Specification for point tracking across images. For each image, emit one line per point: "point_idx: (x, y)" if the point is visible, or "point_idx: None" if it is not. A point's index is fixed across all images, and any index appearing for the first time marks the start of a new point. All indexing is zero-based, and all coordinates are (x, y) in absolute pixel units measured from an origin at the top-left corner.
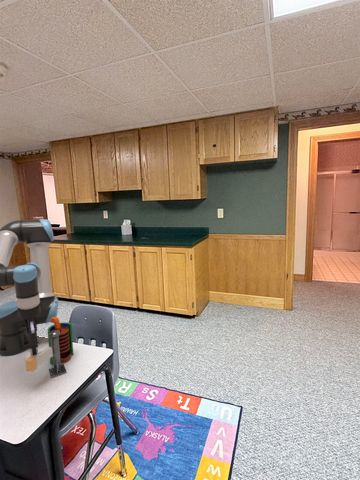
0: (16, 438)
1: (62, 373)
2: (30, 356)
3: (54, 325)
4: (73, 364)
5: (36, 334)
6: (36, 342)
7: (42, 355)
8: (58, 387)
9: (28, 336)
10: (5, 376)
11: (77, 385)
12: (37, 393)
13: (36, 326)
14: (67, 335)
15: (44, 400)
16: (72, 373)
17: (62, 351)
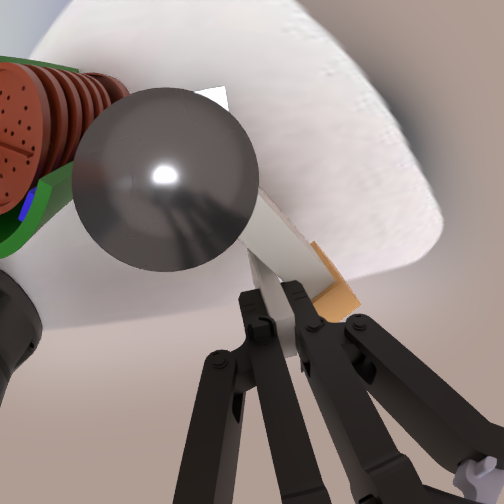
0: (432, 239)
1: (227, 104)
2: None
3: None
4: (164, 57)
5: (474, 412)
6: (406, 354)
7: (300, 238)
8: (315, 126)
9: (240, 429)
10: (150, 315)
11: (339, 59)
12: (309, 202)
13: (427, 498)
14: (39, 67)
15: (358, 178)
16: (242, 62)
17: (107, 107)
